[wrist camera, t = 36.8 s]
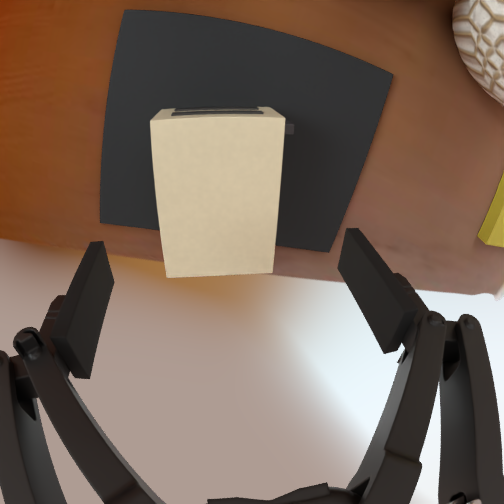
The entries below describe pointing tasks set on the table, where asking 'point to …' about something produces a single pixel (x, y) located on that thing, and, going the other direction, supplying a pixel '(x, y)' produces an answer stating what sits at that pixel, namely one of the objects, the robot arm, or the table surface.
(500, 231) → the flat olive board
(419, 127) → the table surface
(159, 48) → the mat
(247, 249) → the toaster
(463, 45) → the vase
